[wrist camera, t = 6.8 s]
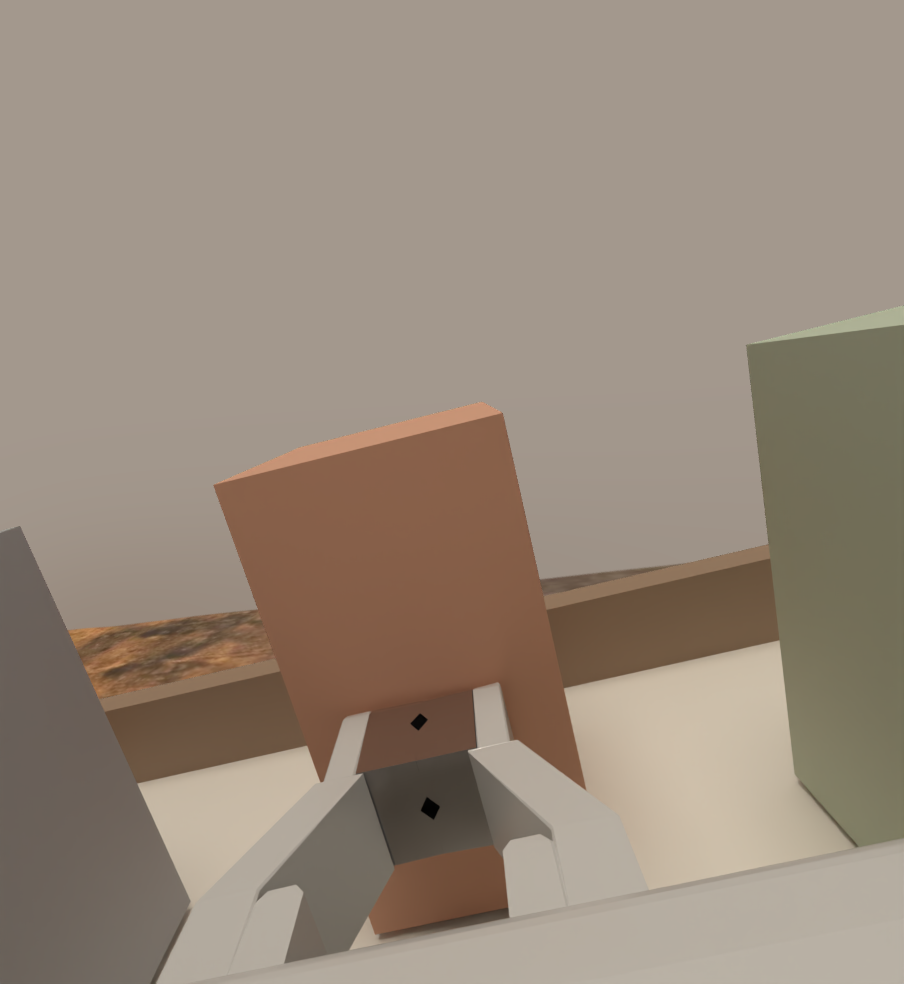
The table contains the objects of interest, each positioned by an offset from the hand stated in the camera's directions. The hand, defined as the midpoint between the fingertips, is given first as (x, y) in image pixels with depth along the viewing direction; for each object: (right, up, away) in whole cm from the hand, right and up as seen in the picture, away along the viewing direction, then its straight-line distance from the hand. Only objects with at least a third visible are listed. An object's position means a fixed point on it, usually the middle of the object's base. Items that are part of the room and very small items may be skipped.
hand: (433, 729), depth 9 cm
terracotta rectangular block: (+1, -4, +3) cm, 5 cm away
